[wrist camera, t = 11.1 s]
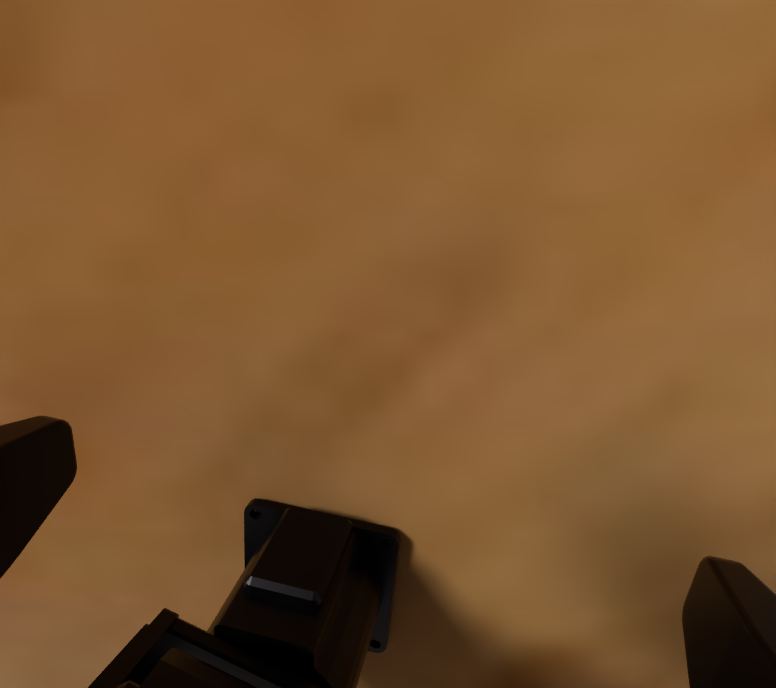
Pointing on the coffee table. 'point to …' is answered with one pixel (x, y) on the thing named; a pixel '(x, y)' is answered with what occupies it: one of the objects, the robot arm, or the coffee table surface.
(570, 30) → the coffee table surface
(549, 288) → the coffee table surface
